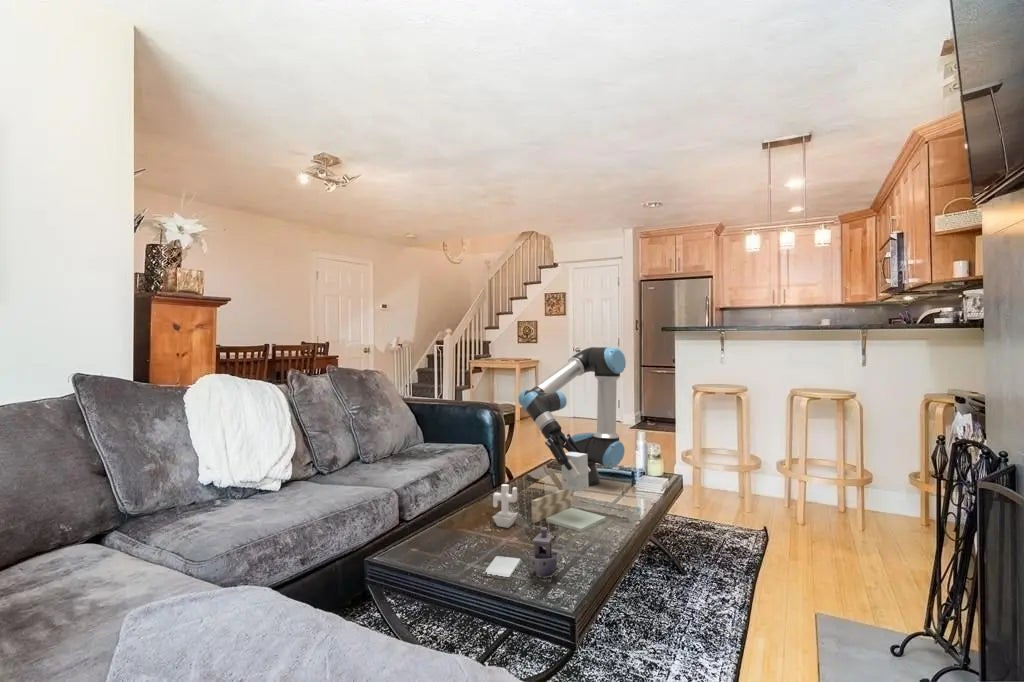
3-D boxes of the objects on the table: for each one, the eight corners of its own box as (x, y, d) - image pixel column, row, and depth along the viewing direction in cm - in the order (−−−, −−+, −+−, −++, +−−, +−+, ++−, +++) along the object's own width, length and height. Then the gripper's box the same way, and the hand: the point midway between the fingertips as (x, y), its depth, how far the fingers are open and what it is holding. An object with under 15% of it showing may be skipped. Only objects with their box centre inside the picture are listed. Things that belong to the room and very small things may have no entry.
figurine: (497, 519, 193) (497, 480, 193) (520, 523, 189) (520, 483, 189) (489, 526, 186) (489, 485, 186) (512, 530, 183) (512, 488, 183)
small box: (589, 488, 191) (588, 453, 191) (579, 492, 186) (578, 456, 186) (571, 484, 196) (570, 451, 196) (561, 488, 192) (560, 453, 192)
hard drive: (495, 555, 159) (482, 573, 147) (521, 558, 157) (509, 576, 145) (496, 560, 159) (482, 578, 147) (521, 563, 157) (509, 582, 145)
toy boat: (537, 562, 156) (536, 519, 156) (562, 565, 154) (562, 521, 154) (524, 585, 142) (523, 538, 142) (552, 589, 139) (552, 541, 139)
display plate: (571, 510, 203) (571, 507, 203) (605, 520, 192) (605, 516, 192) (546, 521, 191) (546, 518, 191) (581, 532, 180) (581, 528, 180)
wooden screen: (569, 506, 208) (569, 486, 208) (572, 506, 207) (572, 487, 207) (531, 521, 191) (531, 500, 191) (534, 522, 190) (534, 501, 190)
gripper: (558, 428, 209) (591, 475, 198) (527, 435, 195) (561, 485, 184) (568, 417, 205) (603, 463, 194) (537, 422, 191) (573, 473, 180)
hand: (582, 474), depth 189 cm, fingers closed on small box, 6 cm apart
